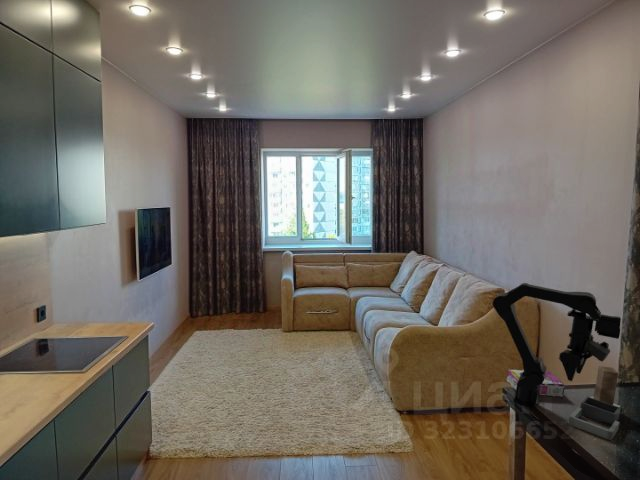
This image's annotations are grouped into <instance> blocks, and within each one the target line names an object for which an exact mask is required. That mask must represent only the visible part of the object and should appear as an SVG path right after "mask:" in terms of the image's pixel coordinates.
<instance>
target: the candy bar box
mask: <svg viewBox="0 0 640 480" xmlns="http://www.w3.org/2000/svg"><path fill="white" fill-rule="evenodd" d="M522 372H524V369H508V370H507V374H506V375H507V376H506V381H507V383H508V384H509V385H510V386H511V388H512V389H513V390H514V391H515V392H516V387H517V382H518V380H519V377H520V375H521V373H522ZM538 386H539V388H538V391H539V392H540V393H539V396H541V395H546V396H547V397H558V398H559V397H560V398H563V397H564V393H565V388H566V385H565V384H564V383H563V382H562V381H561V380H560V379H559V378H557V377H556V376H555V375H554V374H553V373H551V371H546V375H545V379H544V381H543V383H542V384H541V385H538ZM546 396H545V397H546Z"/></svg>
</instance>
